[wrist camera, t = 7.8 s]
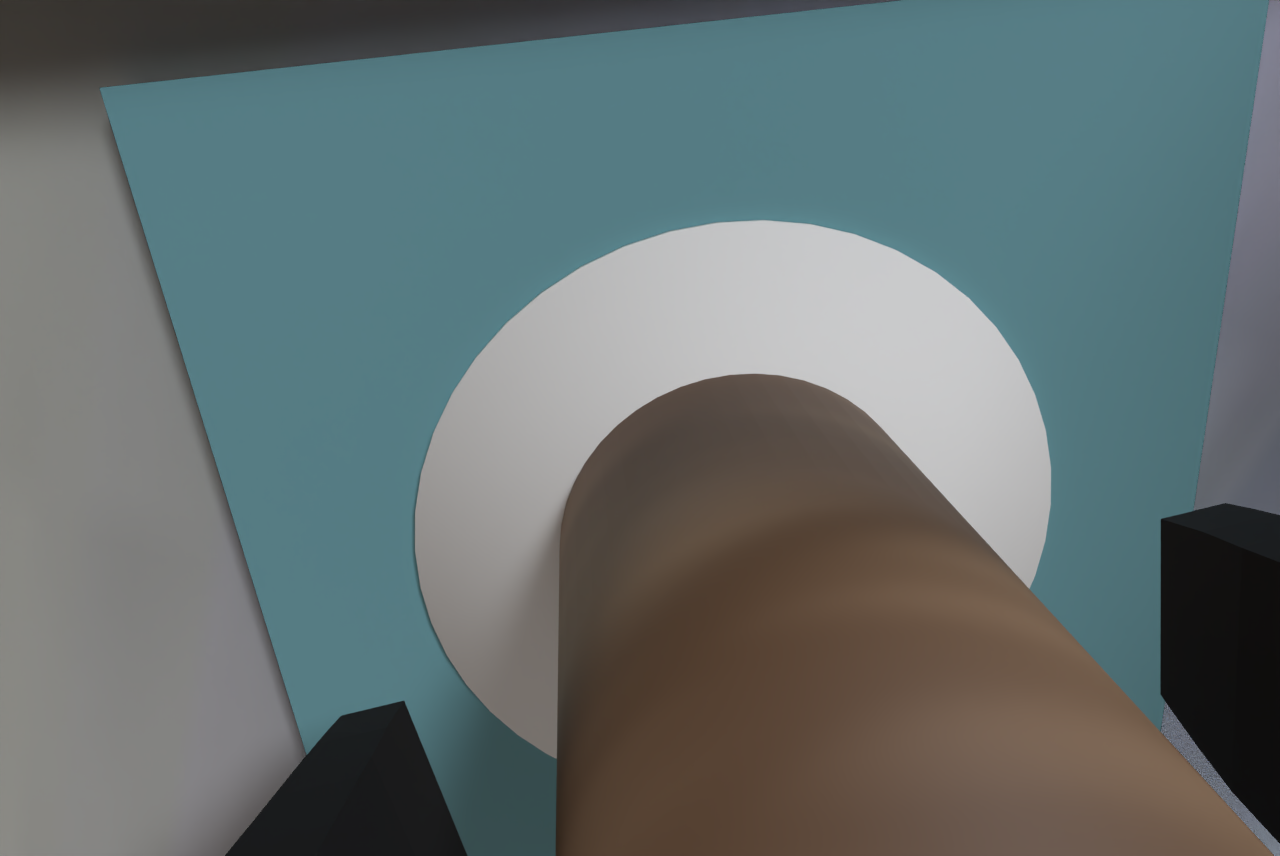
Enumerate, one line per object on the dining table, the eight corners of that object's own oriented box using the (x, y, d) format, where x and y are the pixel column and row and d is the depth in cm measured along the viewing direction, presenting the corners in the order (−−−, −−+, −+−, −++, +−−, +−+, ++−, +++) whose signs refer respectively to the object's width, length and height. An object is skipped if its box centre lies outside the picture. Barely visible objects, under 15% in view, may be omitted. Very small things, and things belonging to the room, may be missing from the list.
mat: (1247, -36, 9) (1281, -43, 9) (1130, 811, 14) (1149, 836, 13) (118, 88, 9) (94, 87, 9) (371, 922, 13) (364, 952, 13)
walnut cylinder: (894, 333, 10) (1488, 785, 4) (932, 647, 12) (1385, 1344, 5) (516, 425, 10) (428, 1033, 4) (607, 725, 12) (658, 1508, 5)
